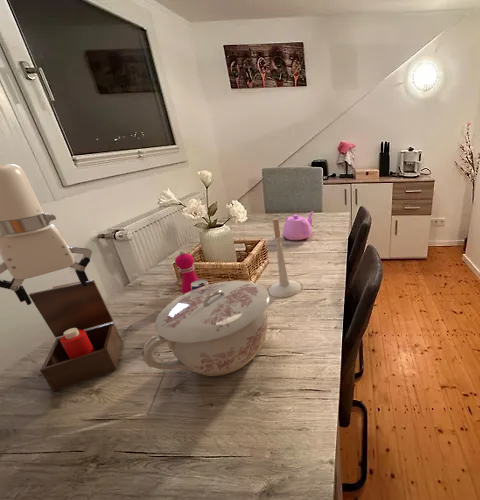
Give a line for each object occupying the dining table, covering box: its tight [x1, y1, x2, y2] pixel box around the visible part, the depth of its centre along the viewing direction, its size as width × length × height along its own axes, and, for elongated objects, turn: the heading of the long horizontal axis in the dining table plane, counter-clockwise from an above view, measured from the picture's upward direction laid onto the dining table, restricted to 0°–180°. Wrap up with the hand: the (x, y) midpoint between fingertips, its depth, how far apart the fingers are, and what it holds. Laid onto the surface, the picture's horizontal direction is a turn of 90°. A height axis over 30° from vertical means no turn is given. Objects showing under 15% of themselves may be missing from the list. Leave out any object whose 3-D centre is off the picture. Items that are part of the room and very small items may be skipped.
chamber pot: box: [141, 279, 271, 377], centre depth 76 cm, size 28×28×21 cm
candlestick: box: [268, 217, 302, 299], centre depth 107 cm, size 13×13×30 cm
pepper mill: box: [174, 249, 200, 295], centre depth 105 cm, size 7×7×20 cm
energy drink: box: [191, 278, 210, 290], centre depth 98 cm, size 5×5×12 cm
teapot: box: [282, 210, 315, 241], centre depth 167 cm, size 22×22×14 cm
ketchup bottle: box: [60, 328, 95, 359], centre depth 74 cm, size 5×5×12 cm
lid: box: [28, 279, 114, 339], centre depth 78 cm, size 14×13×5 cm
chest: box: [39, 321, 122, 392], centre depth 76 cm, size 14×13×8 cm
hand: (58, 293), depth 67 cm, fingers open, 9 cm apart
